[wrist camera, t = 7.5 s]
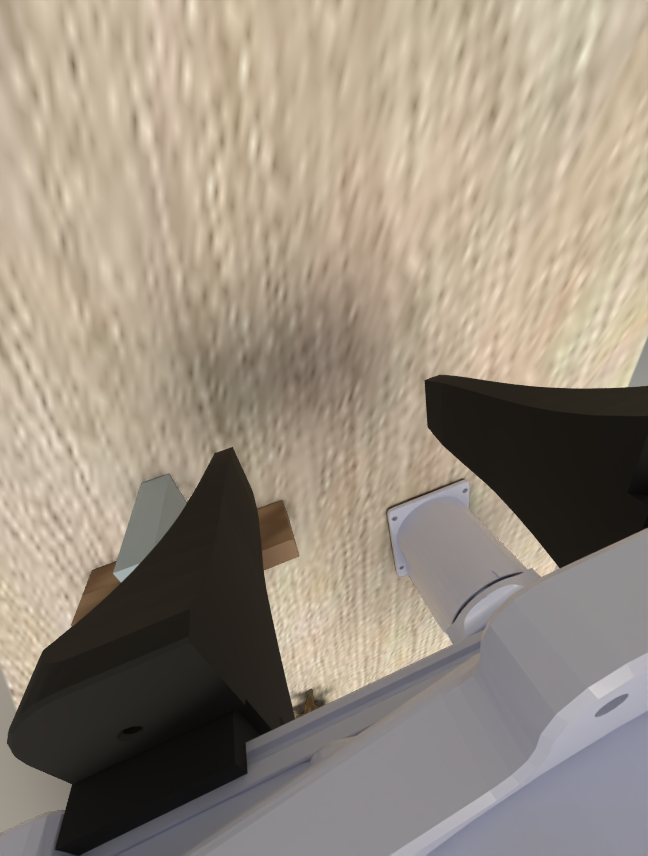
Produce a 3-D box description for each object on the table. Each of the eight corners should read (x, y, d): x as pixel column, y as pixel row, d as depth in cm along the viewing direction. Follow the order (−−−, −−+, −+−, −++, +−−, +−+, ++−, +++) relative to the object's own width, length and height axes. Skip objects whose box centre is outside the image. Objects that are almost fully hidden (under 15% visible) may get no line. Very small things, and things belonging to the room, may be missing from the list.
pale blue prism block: (233, 582, 28) (239, 672, 22) (212, 590, 27) (212, 684, 21) (169, 473, 21) (151, 558, 16) (141, 483, 21) (112, 573, 15)
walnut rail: (282, 500, 25) (292, 539, 22) (288, 516, 26) (299, 556, 23) (91, 570, 23) (71, 625, 20) (105, 585, 24) (88, 640, 21)
